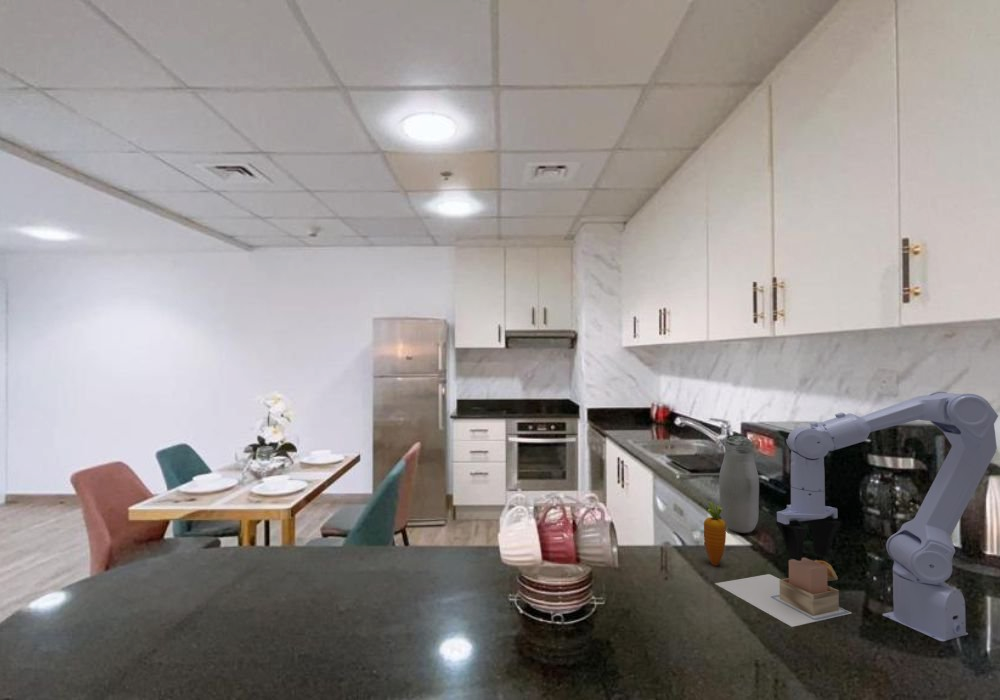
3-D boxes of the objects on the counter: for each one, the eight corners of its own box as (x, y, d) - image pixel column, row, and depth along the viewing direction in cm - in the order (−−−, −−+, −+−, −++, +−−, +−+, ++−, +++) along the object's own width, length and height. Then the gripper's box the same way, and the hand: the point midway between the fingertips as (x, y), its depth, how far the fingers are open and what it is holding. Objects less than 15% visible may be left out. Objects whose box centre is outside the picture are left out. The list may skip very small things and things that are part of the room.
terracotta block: (827, 592, 91) (827, 566, 91) (810, 595, 90) (810, 569, 90) (805, 582, 95) (804, 557, 96) (788, 585, 94) (788, 560, 94)
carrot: (729, 572, 108) (728, 507, 109) (706, 570, 109) (706, 505, 110) (723, 563, 113) (723, 501, 114) (701, 561, 114) (701, 499, 115)
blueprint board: (852, 616, 89) (852, 612, 89) (791, 630, 84) (791, 626, 84) (769, 576, 106) (769, 573, 106) (714, 586, 101) (714, 583, 101)
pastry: (809, 588, 101) (809, 570, 101) (782, 575, 108) (781, 559, 108) (840, 583, 104) (840, 566, 104) (812, 571, 110) (811, 555, 111)
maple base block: (838, 610, 90) (838, 590, 90) (813, 616, 88) (813, 595, 88) (804, 593, 97) (804, 575, 97) (779, 598, 94) (779, 579, 95)
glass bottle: (712, 527, 140) (712, 434, 142) (739, 524, 143) (739, 433, 145) (738, 538, 131) (738, 438, 132) (766, 535, 134) (766, 438, 135)
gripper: (813, 481, 100) (814, 545, 99) (763, 485, 95) (763, 553, 94) (848, 489, 93) (848, 558, 92) (795, 494, 88) (796, 567, 87)
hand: (808, 556), depth 93 cm, fingers open, 7 cm apart
